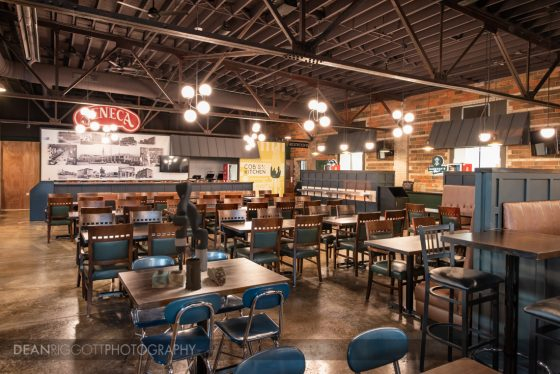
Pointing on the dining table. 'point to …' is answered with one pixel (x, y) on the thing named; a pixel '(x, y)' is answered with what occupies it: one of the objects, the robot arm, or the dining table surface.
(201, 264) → the robot arm
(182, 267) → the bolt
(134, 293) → the dining table surface
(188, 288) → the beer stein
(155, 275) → the clear plastic box
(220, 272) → the burrito
